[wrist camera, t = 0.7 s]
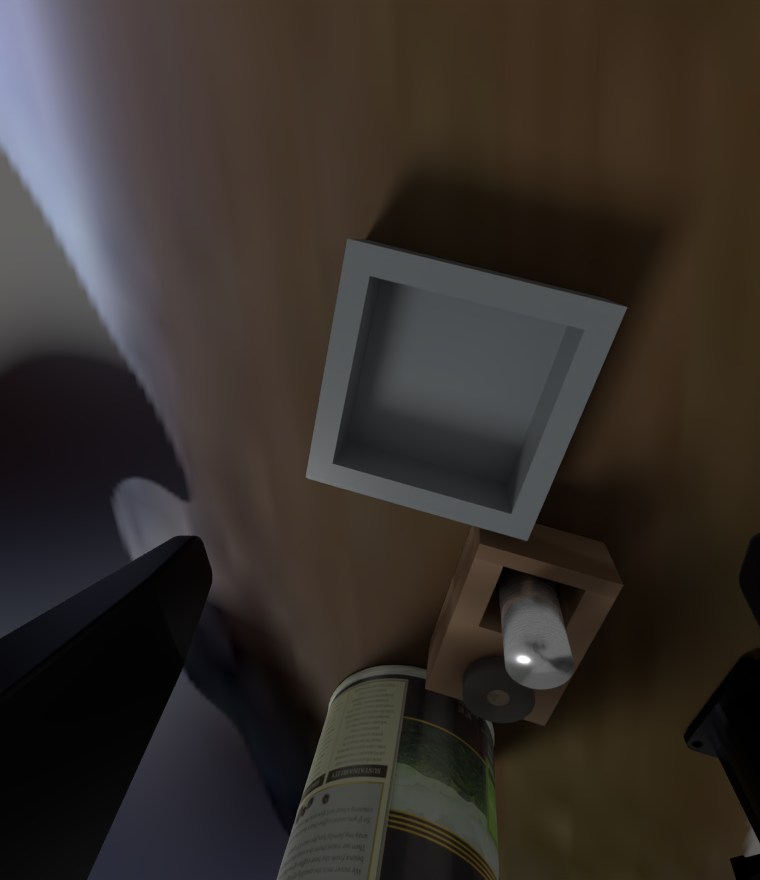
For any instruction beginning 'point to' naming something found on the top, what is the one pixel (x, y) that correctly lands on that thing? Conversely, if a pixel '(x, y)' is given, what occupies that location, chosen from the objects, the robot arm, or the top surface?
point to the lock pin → (533, 631)
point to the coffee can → (397, 787)
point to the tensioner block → (479, 618)
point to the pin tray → (454, 385)
